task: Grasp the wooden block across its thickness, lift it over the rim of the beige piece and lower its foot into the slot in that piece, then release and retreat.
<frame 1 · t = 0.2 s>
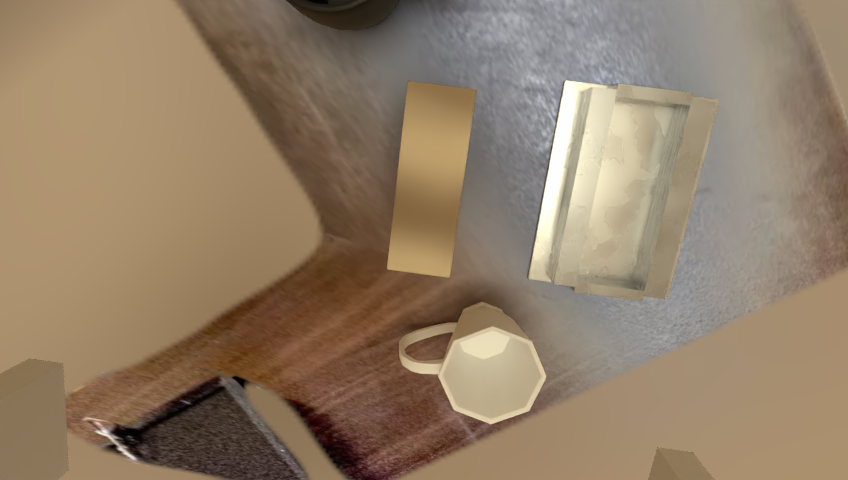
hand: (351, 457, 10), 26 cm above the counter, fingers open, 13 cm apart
wooden block: (434, 169, 35), on the counter
beige piece: (617, 193, 34), on the counter
cup: (464, 325, 37), on the counter
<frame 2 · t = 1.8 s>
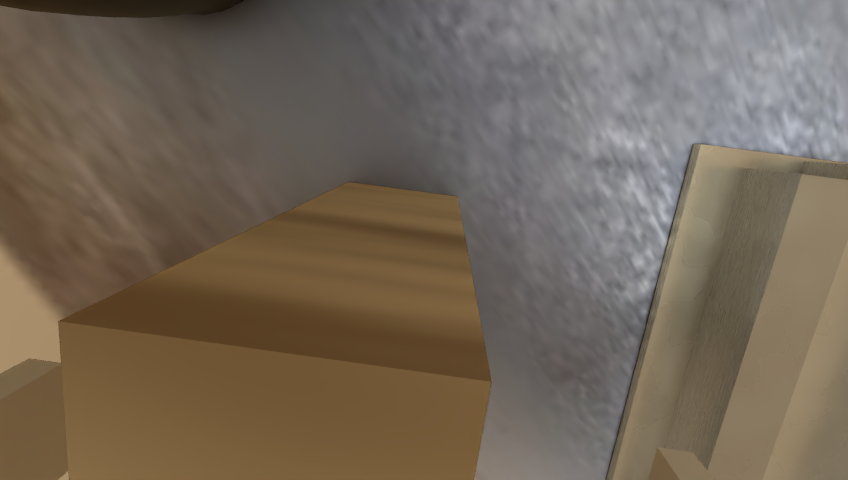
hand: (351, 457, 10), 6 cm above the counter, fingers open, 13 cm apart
wooden block: (386, 333, 15), on the counter
beige piece: (798, 391, 15), on the counter
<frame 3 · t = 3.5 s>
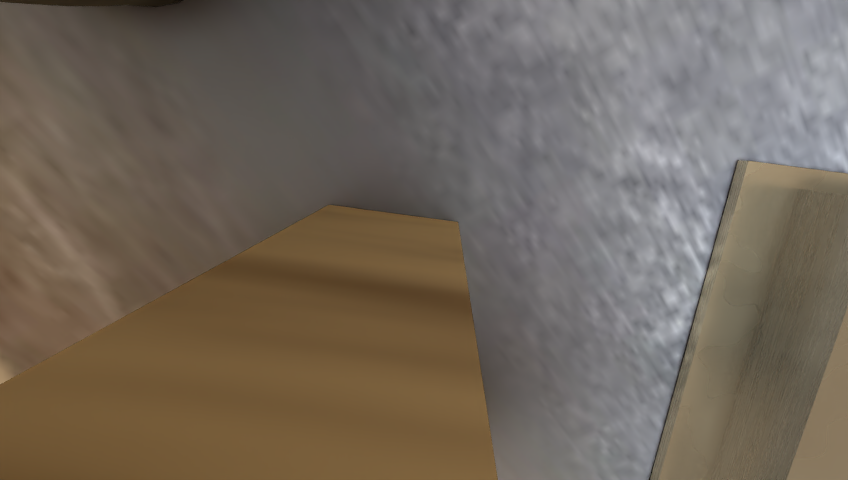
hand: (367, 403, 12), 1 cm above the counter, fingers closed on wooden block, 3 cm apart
wooden block: (374, 381, 13), on the counter, touching gripper
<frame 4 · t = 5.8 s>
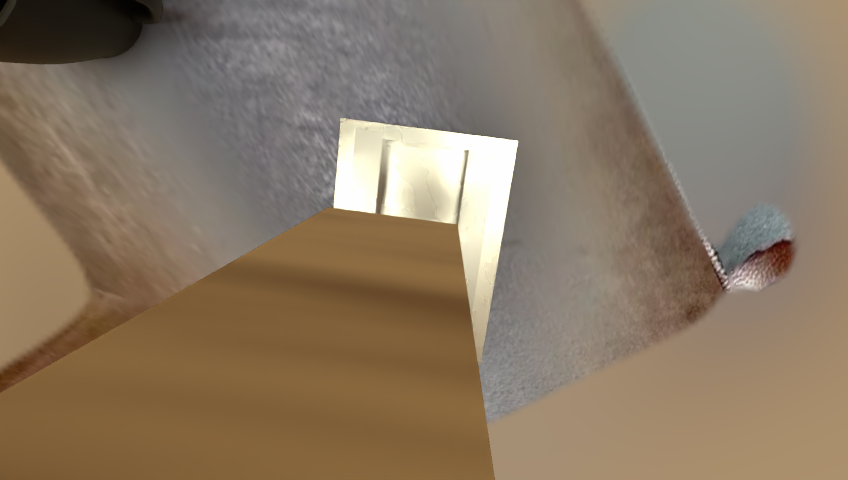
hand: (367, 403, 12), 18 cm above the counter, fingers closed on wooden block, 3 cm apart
wooden block: (374, 383, 13), point 17 cm above the counter, touching gripper
mug: (132, 15, 28), on the counter
beige piece: (415, 245, 30), on the counter
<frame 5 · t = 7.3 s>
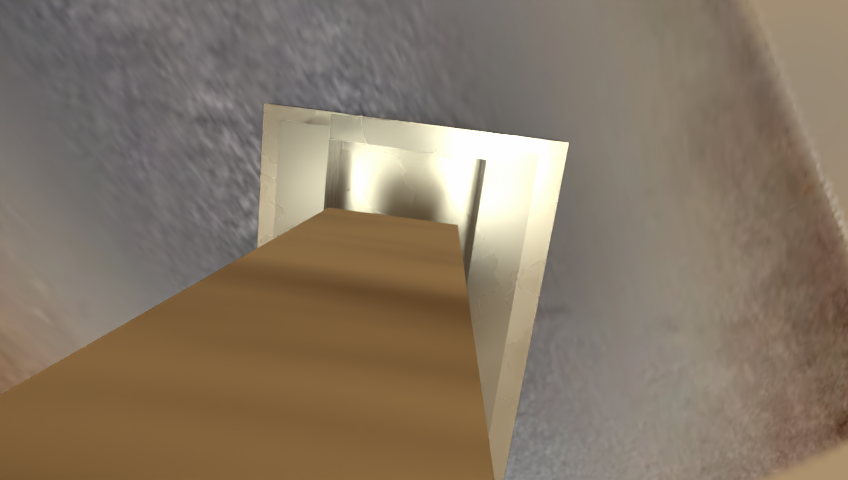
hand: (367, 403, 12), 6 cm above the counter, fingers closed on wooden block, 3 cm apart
wooden block: (374, 383, 13), point 5 cm above the counter, touching gripper
beige piece: (393, 314, 18), on the counter
when the fingers open (4 cm above the counter, at t = 8.4 s): wooden block drops 2 cm, resting on beige piece.
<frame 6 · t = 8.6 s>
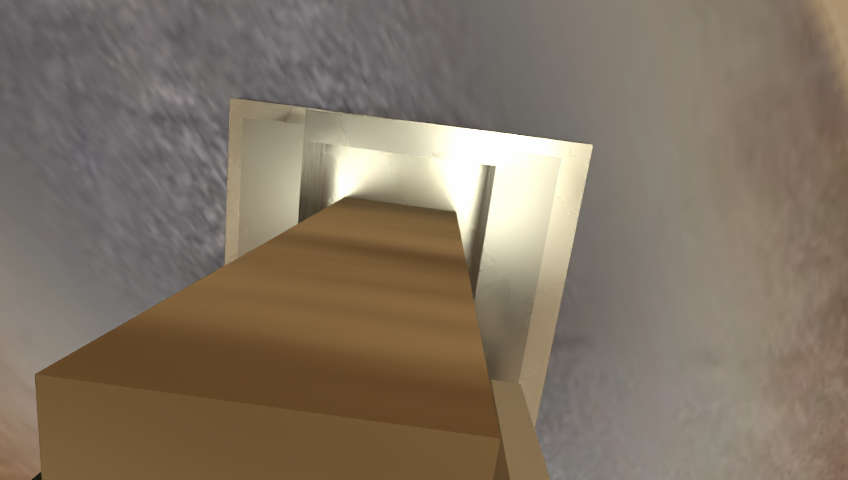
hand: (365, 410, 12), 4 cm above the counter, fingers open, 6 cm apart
wooden block: (383, 350, 15), resting on beige piece
beige piece: (385, 344, 16), on the counter
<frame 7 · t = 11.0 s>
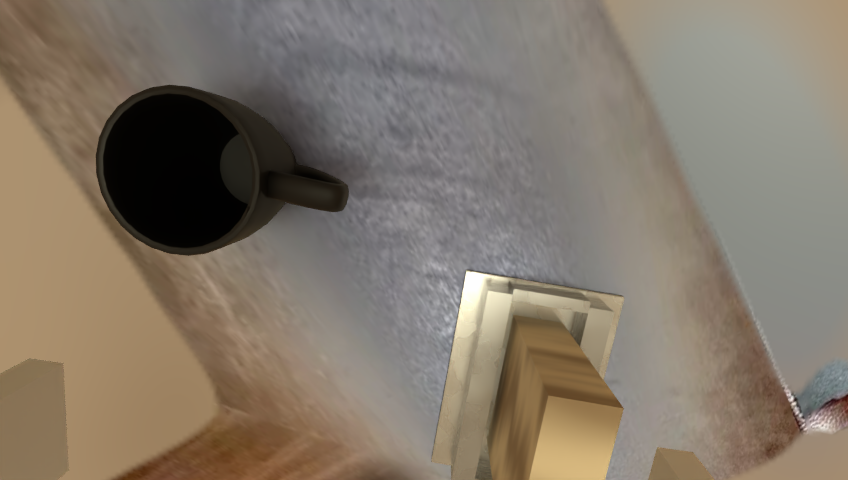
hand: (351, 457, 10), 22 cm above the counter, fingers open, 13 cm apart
wooden block: (523, 383, 33), resting on beige piece
mug: (285, 174, 31), on the counter
beige piece: (522, 380, 33), on the counter
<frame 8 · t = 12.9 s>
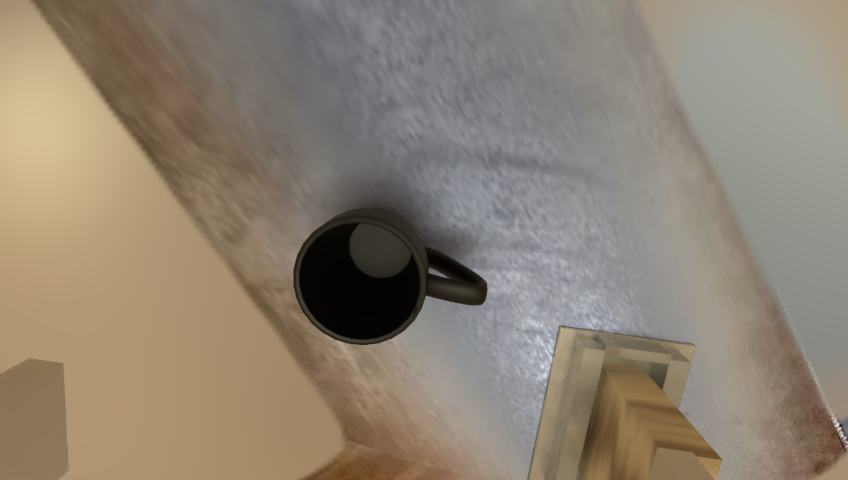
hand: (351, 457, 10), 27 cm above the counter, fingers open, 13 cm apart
wooden block: (608, 418, 38), resting on beige piece
mug: (404, 250, 37), on the counter
beige piece: (606, 415, 39), on the counter
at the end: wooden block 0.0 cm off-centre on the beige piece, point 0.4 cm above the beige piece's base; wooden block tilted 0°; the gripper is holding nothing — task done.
